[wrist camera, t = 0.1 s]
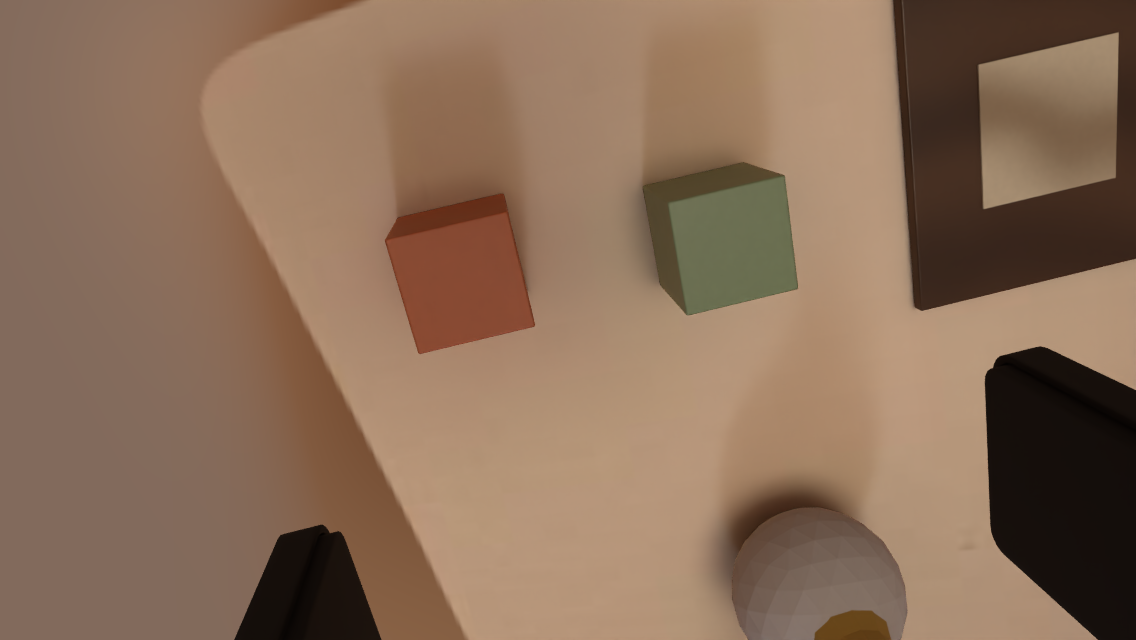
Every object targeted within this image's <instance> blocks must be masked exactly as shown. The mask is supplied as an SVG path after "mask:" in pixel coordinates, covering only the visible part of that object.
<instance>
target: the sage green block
mask: <svg viewBox="0 0 1136 640" xmlns="http://www.w3.org/2000/svg"><path fill="white" fill-rule="evenodd" d="M643 192H644V198H645V203H646V209H647V214H648V220H649V225H650V231H651V236H652V242H653V247H654V253H655V258H656V264H657V269H658V275H659V281H660V285H661V286H662V288H663V289H664V290H665V291H666V292H667V293H668V294H669V296H670V297H671V298H672V299H673V300H674V301H675V302H676V304H677V305H678V306H679V307H680V308H681V309H682V310H683V312H684V313H685V314H686V315H692V314H696V313H700V312H704V311H709V310H713V309H717V308H721V307H725V306H729V305H733V304H738V303H742V302H746V301H750V300H754V299H758V298H762V297H767V296H771V295H775V294H779V293H783V292H787V291H791V290H796V289H798V283H797V274H796V266H795V258H794V249H793V241H792V232H791V224H790V216H789V207H788V199H787V191H786V182H785V176H784V175H782V174H779V173H775V172H772V171H769V170H766V169H763V168H760V167H757V166H754V165H751V164H747V163H744V162H743V163H739V164H735V165H731V166H726V167H722V168H718V169H713V170H709V171H705V172H701V173H696V174H692V175H688V176H683V177H679V178H675V179H671V180H666V181H662V182H658V183H653V184H649V185H645V186H643Z"/></svg>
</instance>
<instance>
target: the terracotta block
mask: <svg viewBox="0 0 1136 640" xmlns="http://www.w3.org/2000/svg"><path fill="white" fill-rule="evenodd" d="M385 243H386V246H387V250H388V253H389V256H390V260H391V263H392V266H393V270H394V273H395V276H396V280H397V283H398V287H399V290H400V293H401V297H402V300H403V303H404V307H405V310H406V313H407V317H408V320H409V324H410V327H411V330H412V334H413V337H414V340H415V344H416V347H417V350H418V353H419V354H422V353H426V352H430V351H434V350H439V349H443V348H447V347H451V346H455V345H459V344H464V343H468V342H472V341H476V340H480V339H484V338H489V337H493V336H497V335H501V334H505V333H509V332H514V331H518V330H522V329H526V328H530V327H534V326H535V322H534V318H533V314H532V309H531V305H530V301H529V297H528V292H527V288H526V284H525V280H524V276H523V272H522V267H521V263H520V259H519V255H518V251H517V247H516V242H515V238H514V234H513V230H512V226H511V222H510V218H509V213H508V209H507V205H506V201H505V197H504V194H498V195H493V196H489V197H485V198H480V199H476V200H472V201H467V202H463V203H459V204H455V205H450V206H446V207H442V208H437V209H433V210H429V211H424V212H420V213H416V214H412V215H407V216H403V217H399V218H397V220H396V222H395V223H394V225H393V227H392V229H391V230H390V232H389V234H388V236H387V238H386V239H385Z"/></svg>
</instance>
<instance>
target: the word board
mask: <svg viewBox="0 0 1136 640" xmlns="http://www.w3.org/2000/svg"><path fill="white" fill-rule="evenodd" d="M894 10H895V25H896V39H897V54H898V69H899V83H900V98H901V113H902V127H903V142H904V156H905V171H906V186H907V200H908V215H909V230H910V244H911V259H912V273H913V288H914V303H915V308H917V309H919V310H921V311H923V310H927V309H931V308H936V307H940V306H944V305H948V304H952V303H956V302H960V301H964V300H968V299H972V298H976V297H981V296H985V295H989V294H993V293H997V292H1001V291H1005V290H1009V289H1013V288H1017V287H1022V286H1026V285H1030V284H1034V283H1038V282H1042V281H1046V280H1050V279H1054V278H1058V277H1062V276H1067V275H1071V274H1075V273H1079V272H1083V271H1087V270H1091V269H1095V268H1099V267H1103V266H1107V265H1112V264H1116V263H1120V262H1124V261H1128V260H1132V259H1136V0H894Z"/></svg>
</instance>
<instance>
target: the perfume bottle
mask: <svg viewBox="0 0 1136 640" xmlns="http://www.w3.org/2000/svg"><path fill="white" fill-rule="evenodd" d="M732 600H733V604H734V607H735V611H736V614H737V618H738V622H739V625H740V627H741V629H742V630H743V632H744V633H745V635H746V636H747V638H748V640H900V639H901V637H902V633H903V629H904V625H905V620H906V616H907V602H906V591H905V585H904V582H903V579H902V575H901V572H900V569H899V566H898V564H897V563H896V561H895V559H894V558H893V556H892V555H891V553H890V551H889V550H888V548H887V547H886V545H885V544H884V542H883V541H882V540H881V539H880V538H879V537H877V536H876V535H875V534H874V533H873V532H872V531H870V530H869V529H868V528H867V527H866V526H865V525H863V524H862V523H860V522H858V521H856V520H854V519H852V518H851V517H849V516H847V515H845V514H843V513H840V512H836V511H832V510H828V509H824V508H820V507H814V508H797V509H792V510H789V511H785V512H782V513H780V514H778V515H775V516H773V517H772V518H770V519H768V520H767V521H765V522H764V523H762V524H760V525H759V526H758V527H757V529H756V530H755V531H754V532H753V533H752V534H751V535H750V536H749V537H748V538H747V540H746V541H745V542H744V543H743V545H742V547H741V549H740V552H739V554H738V556H737V558H736V560H735V564H734V571H733V577H732Z"/></svg>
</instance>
